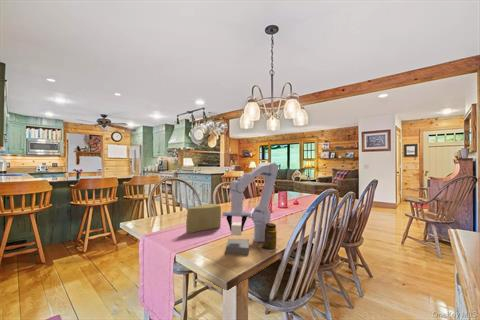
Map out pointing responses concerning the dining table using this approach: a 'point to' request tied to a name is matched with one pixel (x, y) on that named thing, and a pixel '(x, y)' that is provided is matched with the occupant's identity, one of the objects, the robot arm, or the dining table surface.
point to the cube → (236, 228)
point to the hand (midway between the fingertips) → (236, 230)
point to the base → (237, 246)
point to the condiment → (270, 238)
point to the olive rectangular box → (203, 218)
